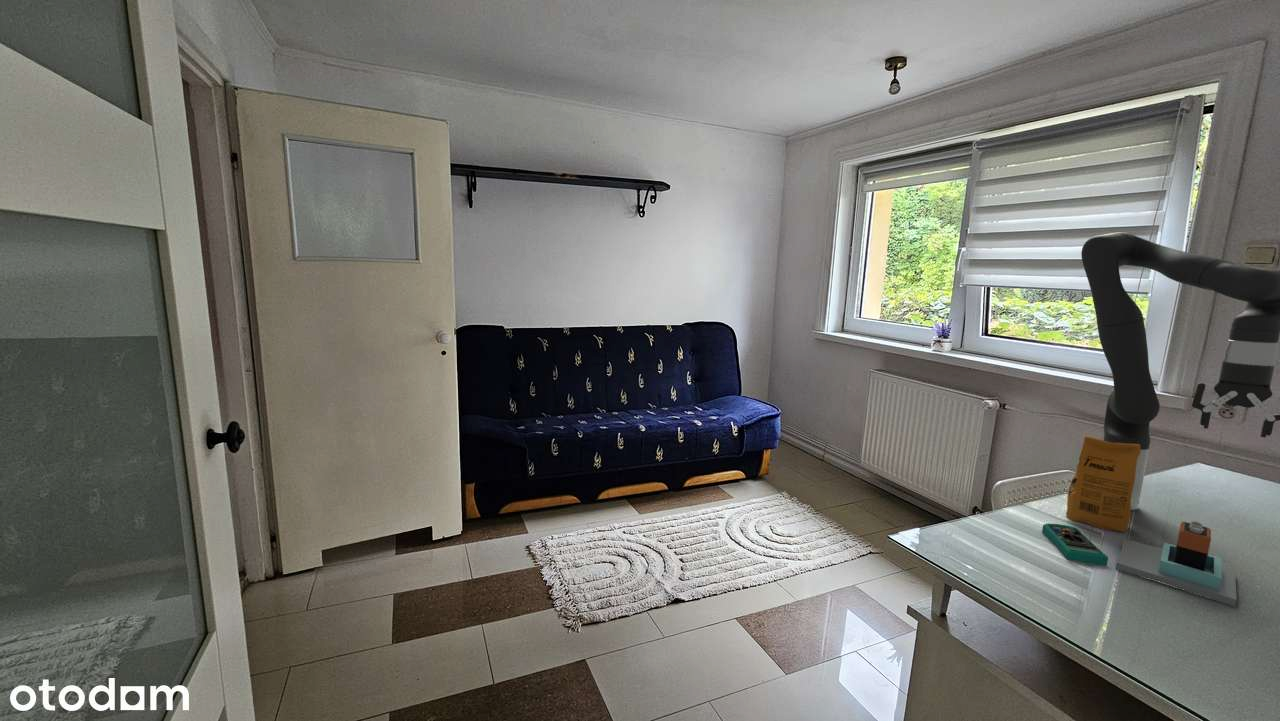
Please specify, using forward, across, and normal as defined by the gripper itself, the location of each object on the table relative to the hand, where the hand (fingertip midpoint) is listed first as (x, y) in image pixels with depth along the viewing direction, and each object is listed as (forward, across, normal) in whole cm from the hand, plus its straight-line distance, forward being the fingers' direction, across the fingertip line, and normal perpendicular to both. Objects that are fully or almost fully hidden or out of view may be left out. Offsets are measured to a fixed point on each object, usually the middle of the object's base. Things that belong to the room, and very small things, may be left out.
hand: (1233, 432), depth 116 cm
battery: (+27, -3, -22) cm, 35 cm away
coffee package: (+28, -20, -3) cm, 35 cm away
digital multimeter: (+29, -21, -25) cm, 44 cm away
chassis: (+28, -5, -22) cm, 36 cm away
